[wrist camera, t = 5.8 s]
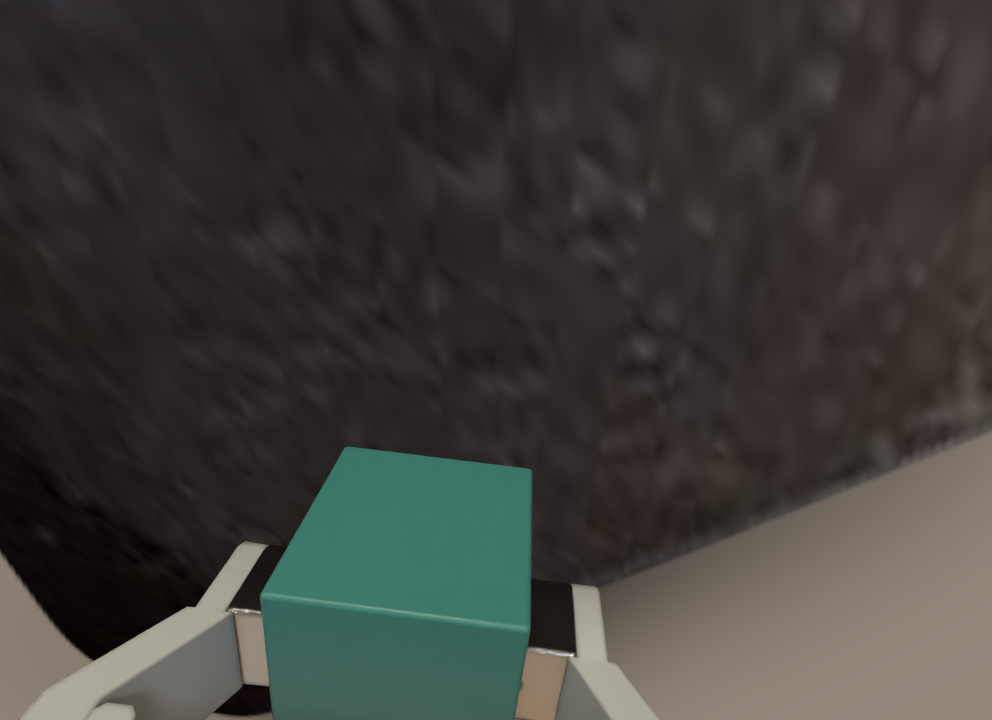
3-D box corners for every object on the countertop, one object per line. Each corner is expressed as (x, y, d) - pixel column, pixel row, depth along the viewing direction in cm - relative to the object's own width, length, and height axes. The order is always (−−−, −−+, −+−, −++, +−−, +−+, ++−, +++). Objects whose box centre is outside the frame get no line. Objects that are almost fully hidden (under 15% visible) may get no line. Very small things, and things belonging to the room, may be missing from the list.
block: (532, 467, 12) (531, 631, 8) (511, 605, 13) (502, 792, 10) (345, 444, 12) (256, 595, 8) (347, 583, 13) (275, 761, 10)
